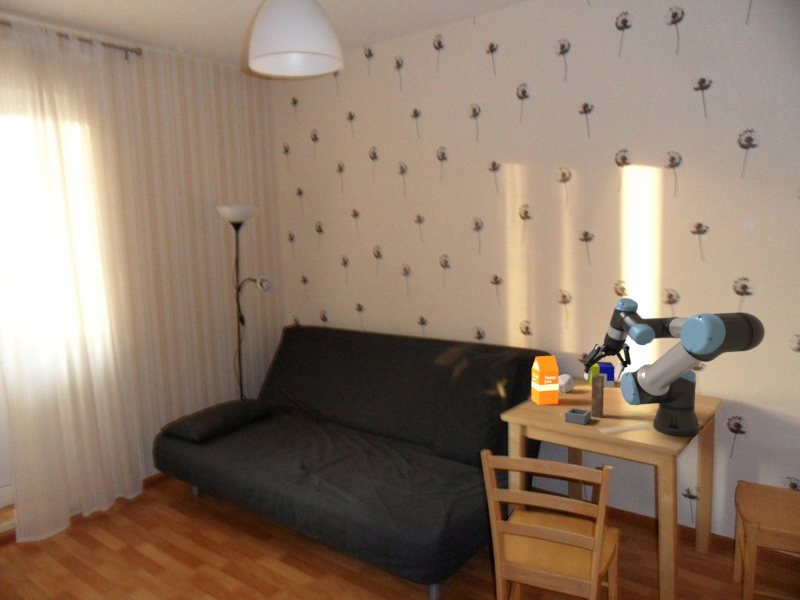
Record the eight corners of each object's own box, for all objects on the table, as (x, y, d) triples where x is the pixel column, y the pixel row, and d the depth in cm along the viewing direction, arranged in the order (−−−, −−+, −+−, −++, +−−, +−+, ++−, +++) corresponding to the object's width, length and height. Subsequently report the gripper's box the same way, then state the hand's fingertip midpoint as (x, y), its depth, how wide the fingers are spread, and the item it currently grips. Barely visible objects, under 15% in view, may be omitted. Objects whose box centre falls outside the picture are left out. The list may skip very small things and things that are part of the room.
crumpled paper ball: (553, 394, 254) (565, 380, 249) (549, 381, 261) (561, 367, 256) (569, 399, 256) (580, 385, 251) (565, 386, 263) (576, 372, 258)
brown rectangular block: (602, 415, 222) (603, 376, 220) (600, 417, 219) (601, 378, 217) (594, 414, 224) (594, 374, 222) (591, 416, 221) (592, 376, 219)
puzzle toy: (614, 388, 261) (614, 367, 260) (591, 387, 263) (591, 366, 262) (610, 382, 271) (610, 362, 270) (588, 381, 273) (589, 361, 272)
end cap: (590, 419, 217) (591, 410, 217) (584, 424, 211) (584, 415, 211) (571, 416, 222) (571, 407, 221) (565, 421, 216) (565, 412, 215)
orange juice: (531, 399, 245) (531, 354, 242) (550, 398, 246) (550, 353, 244) (539, 405, 237) (539, 358, 235) (558, 403, 239) (559, 357, 236)
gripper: (640, 329, 222) (624, 371, 233) (582, 330, 218) (569, 373, 229) (650, 340, 216) (633, 382, 227) (591, 341, 211) (576, 385, 222)
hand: (601, 378), depth 228 cm, fingers open, 13 cm apart
